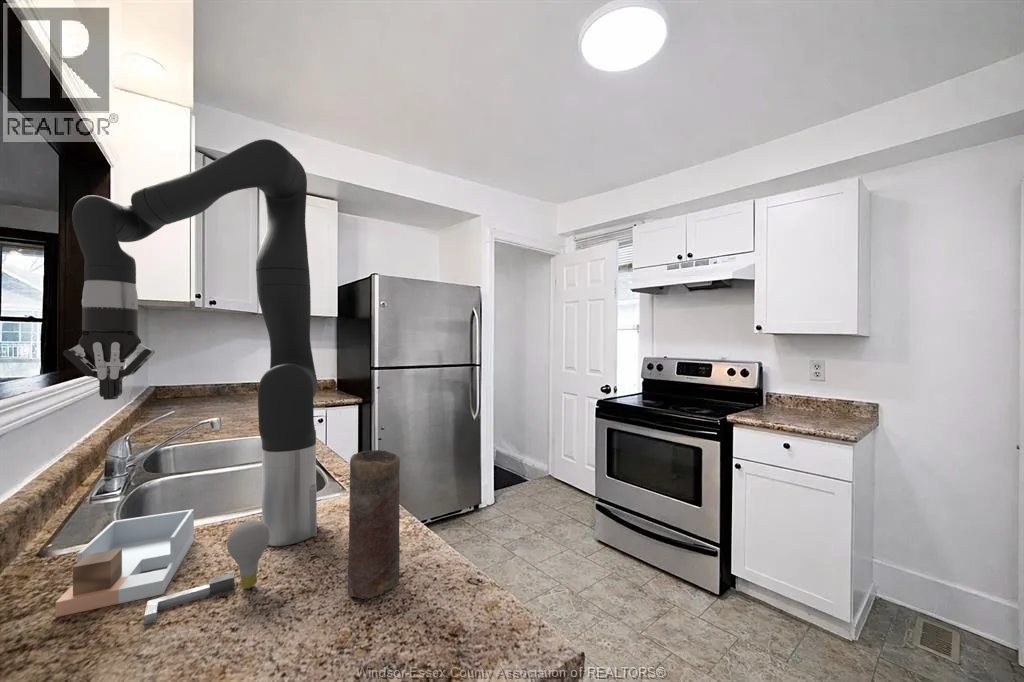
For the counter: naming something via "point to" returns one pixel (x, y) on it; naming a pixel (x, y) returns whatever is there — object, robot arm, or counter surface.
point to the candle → (373, 523)
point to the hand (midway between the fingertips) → (110, 399)
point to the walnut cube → (97, 571)
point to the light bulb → (248, 549)
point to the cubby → (136, 559)
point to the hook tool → (188, 596)
